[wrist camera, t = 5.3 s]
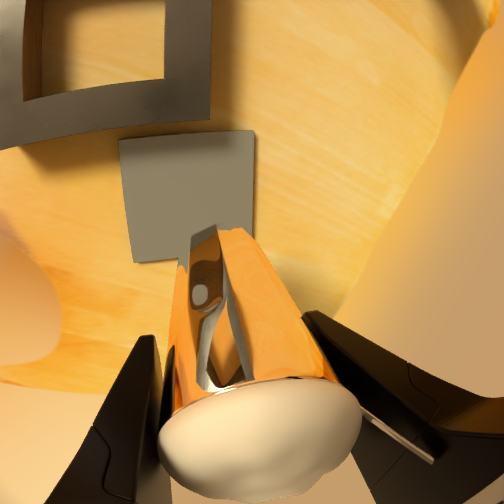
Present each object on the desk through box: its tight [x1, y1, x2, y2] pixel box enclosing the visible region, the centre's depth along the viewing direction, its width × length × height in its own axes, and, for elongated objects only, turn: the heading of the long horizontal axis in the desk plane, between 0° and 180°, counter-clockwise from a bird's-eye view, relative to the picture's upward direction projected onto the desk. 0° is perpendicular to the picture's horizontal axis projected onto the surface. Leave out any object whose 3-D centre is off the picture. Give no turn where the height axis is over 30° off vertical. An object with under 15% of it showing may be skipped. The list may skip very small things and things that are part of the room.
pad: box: [118, 130, 254, 263], centre depth 20 cm, size 8×8×1 cm
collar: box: [0, 0, 212, 150], centre depth 12 cm, size 12×12×3 cm
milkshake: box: [157, 223, 435, 503], centre depth 9 cm, size 4×5×10 cm
